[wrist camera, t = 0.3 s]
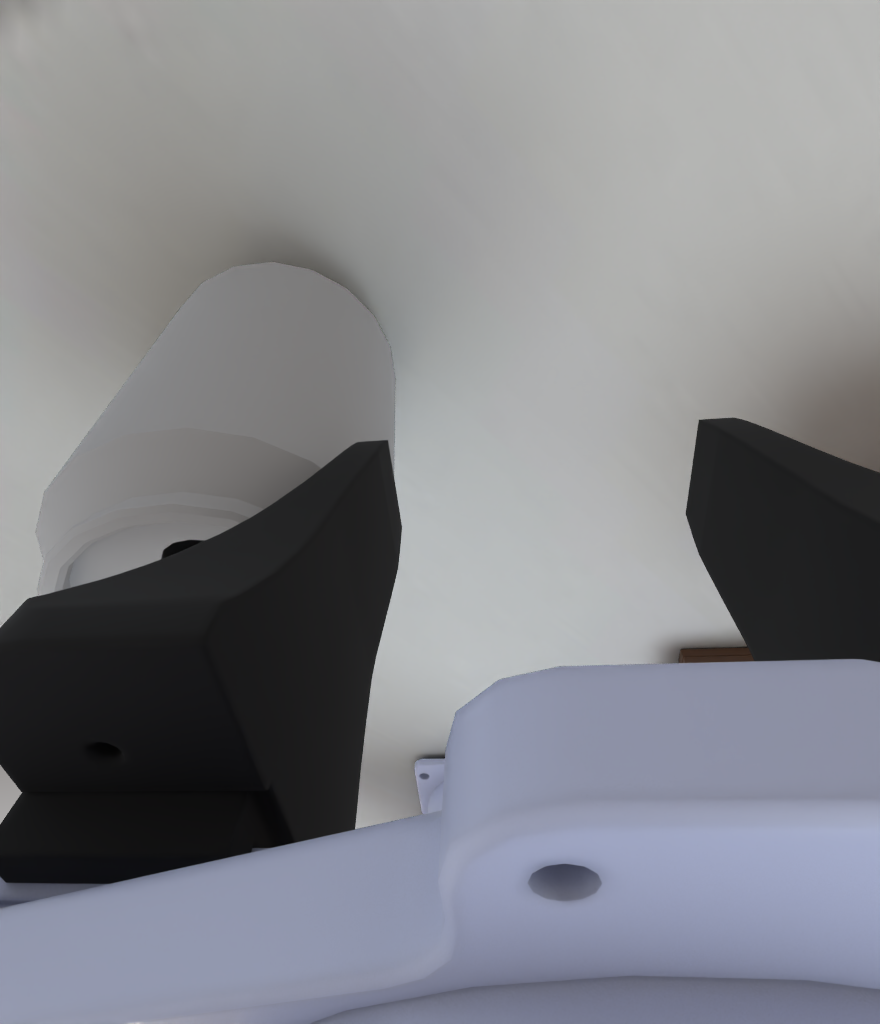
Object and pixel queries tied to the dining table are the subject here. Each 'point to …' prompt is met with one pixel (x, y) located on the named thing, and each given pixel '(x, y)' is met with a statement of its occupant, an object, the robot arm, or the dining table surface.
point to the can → (219, 421)
